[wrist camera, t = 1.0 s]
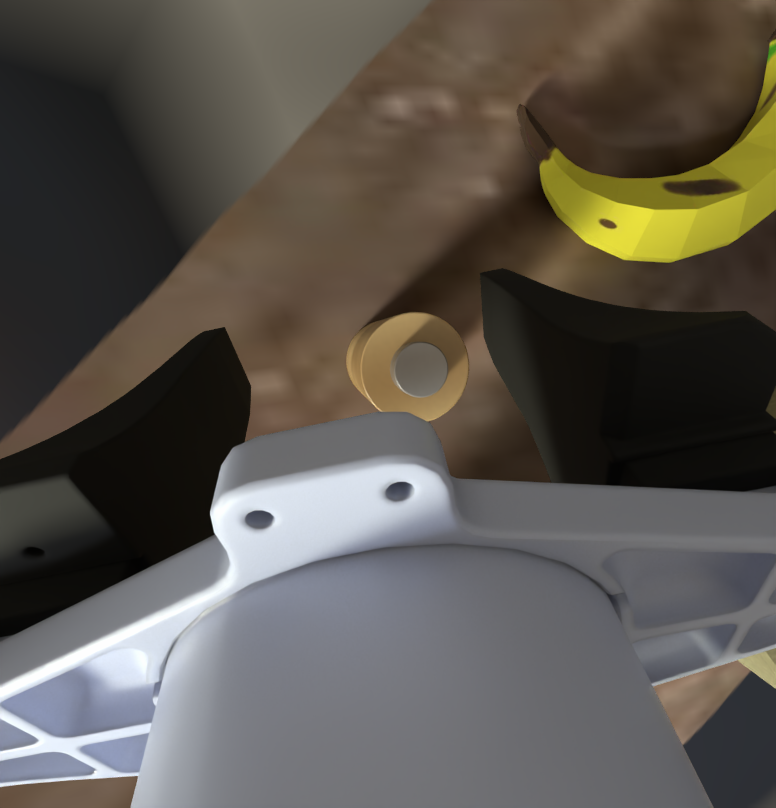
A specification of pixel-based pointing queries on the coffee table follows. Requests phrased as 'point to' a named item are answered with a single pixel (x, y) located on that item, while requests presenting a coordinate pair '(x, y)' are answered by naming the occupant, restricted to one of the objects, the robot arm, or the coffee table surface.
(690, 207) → the banana
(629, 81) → the coffee table surface
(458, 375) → the pepper mill
